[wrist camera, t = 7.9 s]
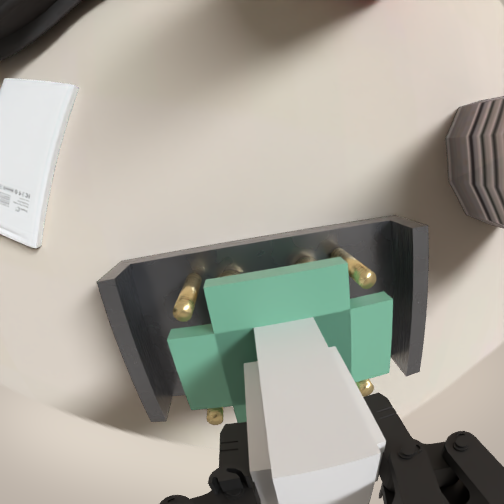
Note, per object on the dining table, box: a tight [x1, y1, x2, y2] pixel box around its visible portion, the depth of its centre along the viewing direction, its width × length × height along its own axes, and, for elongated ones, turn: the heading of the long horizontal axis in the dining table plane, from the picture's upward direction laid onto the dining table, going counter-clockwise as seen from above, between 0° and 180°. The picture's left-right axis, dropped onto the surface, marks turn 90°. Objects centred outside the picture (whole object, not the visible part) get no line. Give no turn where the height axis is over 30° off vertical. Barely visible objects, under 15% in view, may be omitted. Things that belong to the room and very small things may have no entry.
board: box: [167, 257, 393, 504], centre depth 12 cm, size 12×10×10 cm
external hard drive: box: [0, 78, 79, 248], centre depth 18 cm, size 2×8×12 cm
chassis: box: [97, 215, 429, 425], centre depth 19 cm, size 20×11×6 cm, turn 99°
